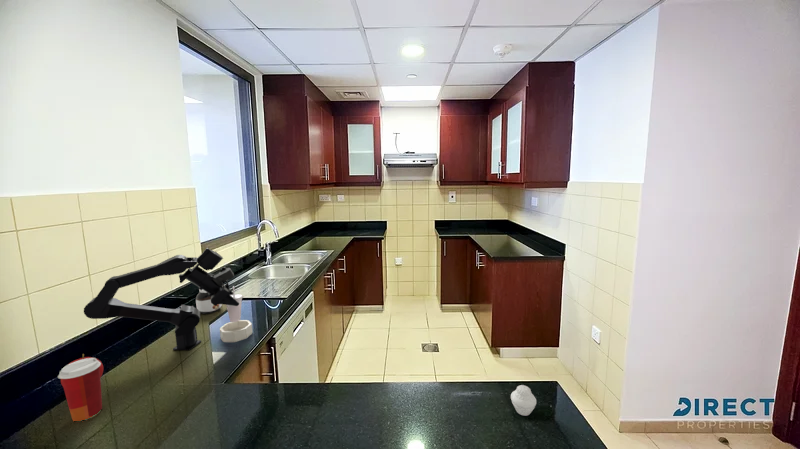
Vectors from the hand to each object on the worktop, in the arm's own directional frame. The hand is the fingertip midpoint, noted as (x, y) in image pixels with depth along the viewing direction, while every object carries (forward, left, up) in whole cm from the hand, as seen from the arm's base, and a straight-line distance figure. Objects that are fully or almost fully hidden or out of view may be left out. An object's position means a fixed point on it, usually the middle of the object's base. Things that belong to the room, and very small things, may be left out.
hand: (237, 302), depth 124 cm
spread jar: (+24, +29, -14) cm, 40 cm away
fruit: (-34, +29, -14) cm, 46 cm away
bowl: (-1, +1, -13) cm, 13 cm away
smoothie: (-1, +1, -7) cm, 7 cm away
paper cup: (-45, +16, -13) cm, 49 cm away
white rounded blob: (-40, -98, -13) cm, 107 cm away
